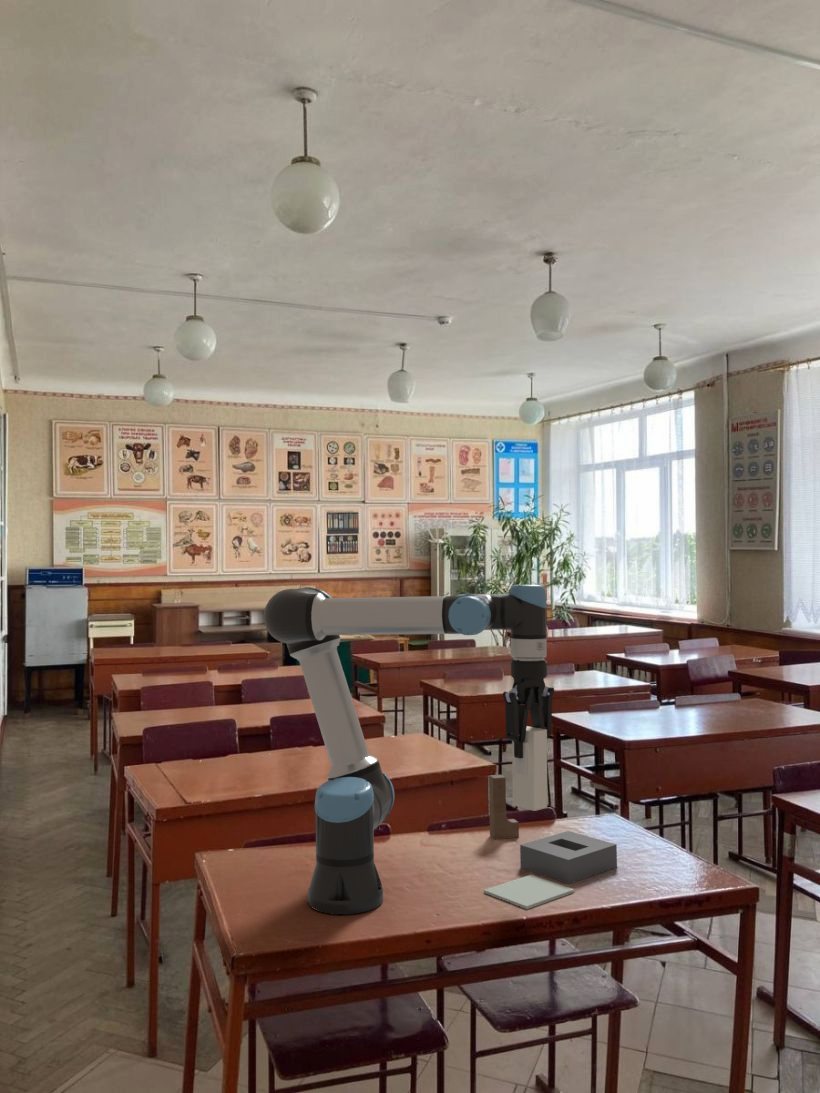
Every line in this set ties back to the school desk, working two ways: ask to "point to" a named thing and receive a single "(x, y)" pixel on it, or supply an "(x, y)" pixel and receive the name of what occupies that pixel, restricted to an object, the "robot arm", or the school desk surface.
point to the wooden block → (500, 810)
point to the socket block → (568, 856)
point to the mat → (529, 891)
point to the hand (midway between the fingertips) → (529, 771)
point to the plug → (532, 772)
